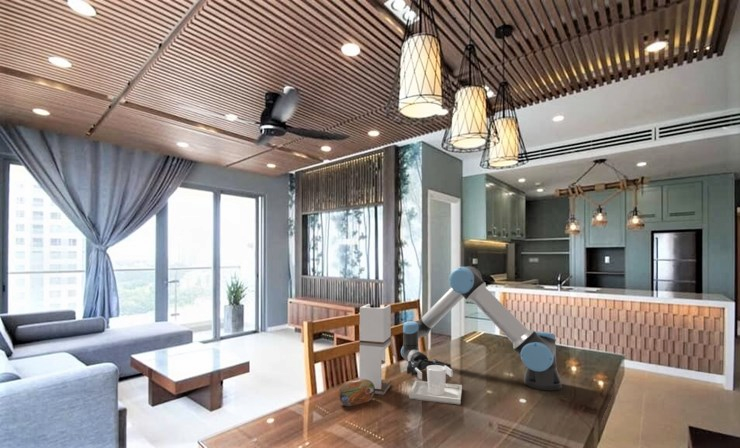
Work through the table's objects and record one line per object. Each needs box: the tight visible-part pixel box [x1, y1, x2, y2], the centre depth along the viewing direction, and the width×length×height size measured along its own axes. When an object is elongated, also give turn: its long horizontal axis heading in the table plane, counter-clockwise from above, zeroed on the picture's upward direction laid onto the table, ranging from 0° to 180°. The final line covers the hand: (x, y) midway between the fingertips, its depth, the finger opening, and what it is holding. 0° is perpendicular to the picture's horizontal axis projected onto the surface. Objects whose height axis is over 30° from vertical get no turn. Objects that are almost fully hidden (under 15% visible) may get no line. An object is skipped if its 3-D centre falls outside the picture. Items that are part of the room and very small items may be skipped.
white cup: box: [426, 365, 447, 395], centre depth 151 cm, size 8×8×10 cm
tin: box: [337, 379, 375, 407], centre depth 142 cm, size 15×3×8 cm, turn 118°
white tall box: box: [358, 303, 392, 396], centre depth 158 cm, size 11×11×35 cm
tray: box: [408, 379, 463, 406], centre depth 151 cm, size 20×16×2 cm
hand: (436, 374), depth 150 cm, fingers open, 13 cm apart
